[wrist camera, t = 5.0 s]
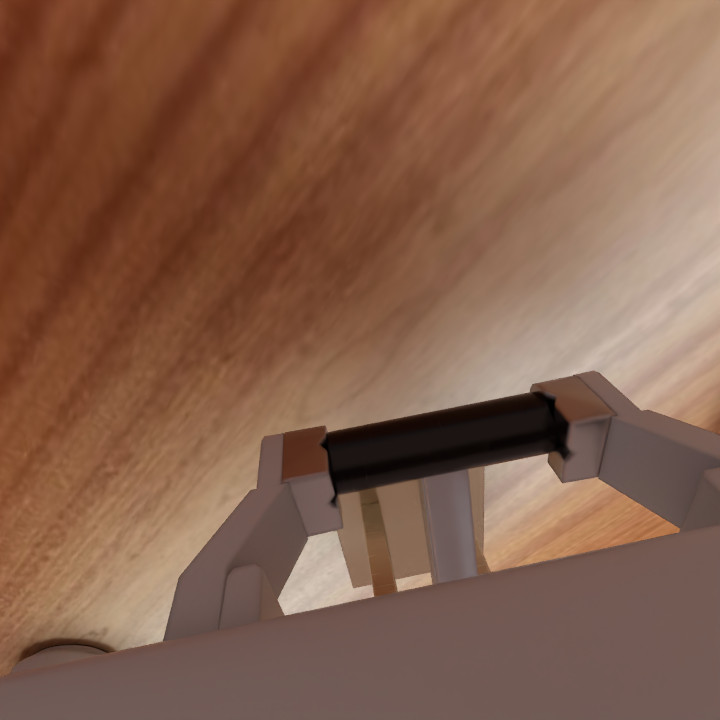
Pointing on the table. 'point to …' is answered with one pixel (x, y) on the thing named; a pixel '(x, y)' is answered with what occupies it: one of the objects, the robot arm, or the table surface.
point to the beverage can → (56, 656)
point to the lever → (443, 464)
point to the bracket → (396, 533)
